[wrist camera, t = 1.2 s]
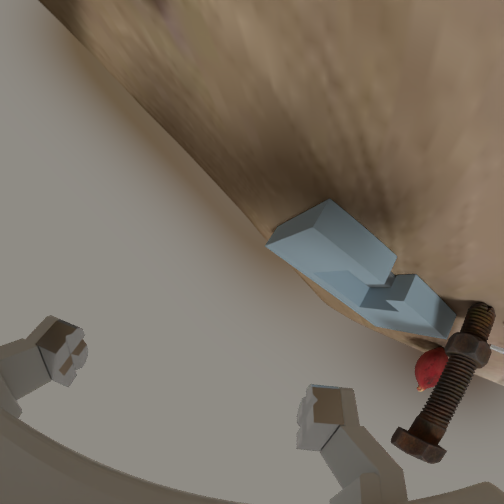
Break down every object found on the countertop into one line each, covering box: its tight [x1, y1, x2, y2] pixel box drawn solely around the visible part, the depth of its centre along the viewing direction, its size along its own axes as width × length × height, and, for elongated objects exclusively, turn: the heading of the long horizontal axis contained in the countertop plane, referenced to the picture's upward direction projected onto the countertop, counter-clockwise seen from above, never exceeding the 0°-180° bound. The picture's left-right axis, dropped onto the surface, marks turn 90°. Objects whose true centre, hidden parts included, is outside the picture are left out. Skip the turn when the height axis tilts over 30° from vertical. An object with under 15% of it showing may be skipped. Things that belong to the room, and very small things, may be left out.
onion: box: [415, 347, 448, 392], centre depth 39 cm, size 6×6×8 cm
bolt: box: [391, 303, 496, 464], centre depth 20 cm, size 6×5×15 cm
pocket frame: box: [265, 199, 456, 339], centre depth 32 cm, size 20×14×3 cm
